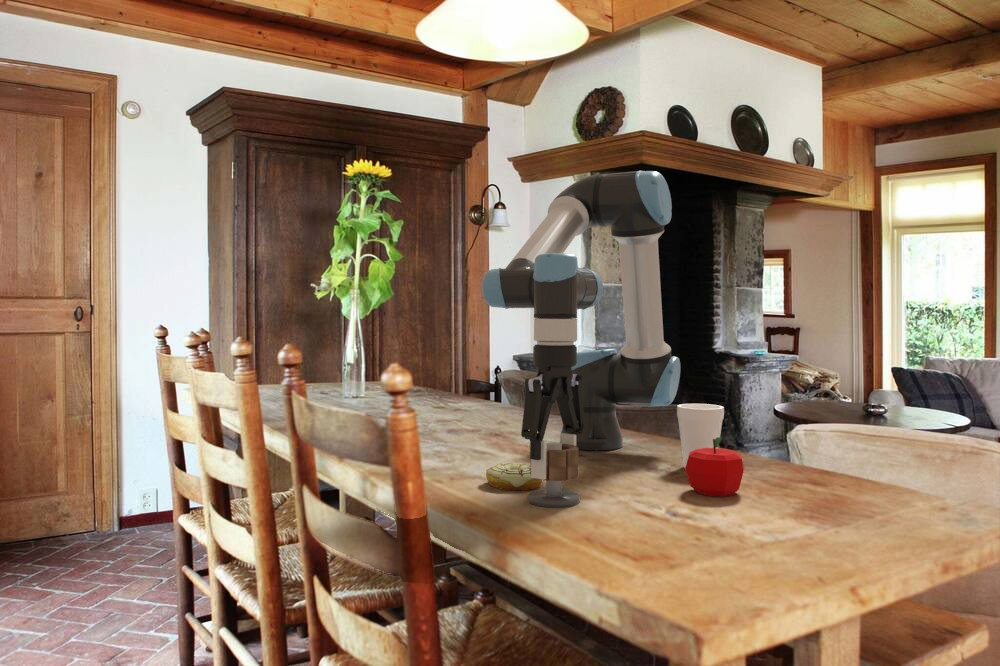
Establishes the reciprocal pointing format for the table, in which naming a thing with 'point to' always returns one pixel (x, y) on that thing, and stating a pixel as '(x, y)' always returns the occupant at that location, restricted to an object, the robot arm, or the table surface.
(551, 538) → the table surface
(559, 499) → the post
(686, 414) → the foam cup
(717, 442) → the apple
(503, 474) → the decorated donut
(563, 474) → the ring
